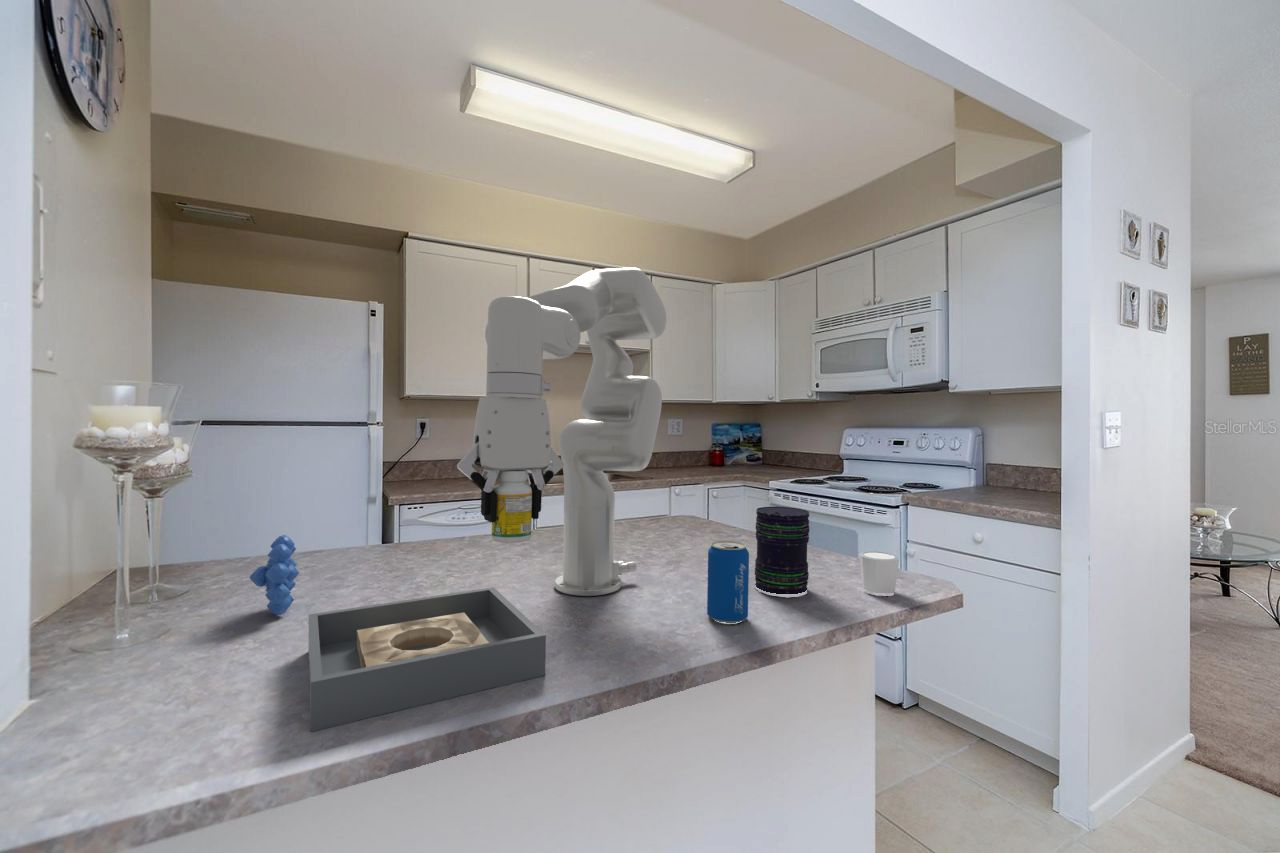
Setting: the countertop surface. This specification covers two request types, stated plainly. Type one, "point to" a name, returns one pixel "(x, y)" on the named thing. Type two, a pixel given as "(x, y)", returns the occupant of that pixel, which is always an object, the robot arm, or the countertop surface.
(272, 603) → the grapes
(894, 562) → the white short cylinder
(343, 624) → the open box
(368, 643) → the bore plate
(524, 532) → the supplement bottle
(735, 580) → the beverage can
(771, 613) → the countertop surface
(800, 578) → the storage jar
